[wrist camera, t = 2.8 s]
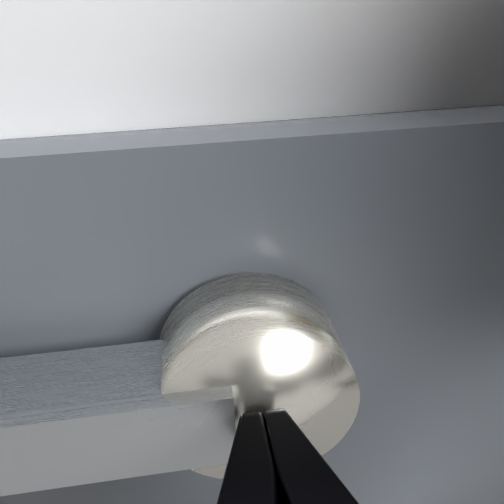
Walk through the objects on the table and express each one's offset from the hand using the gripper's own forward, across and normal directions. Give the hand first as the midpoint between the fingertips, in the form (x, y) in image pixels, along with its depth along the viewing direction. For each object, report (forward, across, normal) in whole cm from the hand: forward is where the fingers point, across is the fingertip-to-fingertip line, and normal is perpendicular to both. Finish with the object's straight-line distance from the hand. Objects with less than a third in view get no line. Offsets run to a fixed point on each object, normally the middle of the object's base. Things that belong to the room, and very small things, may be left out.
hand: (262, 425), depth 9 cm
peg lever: (+2, +4, 0) cm, 5 cm away
